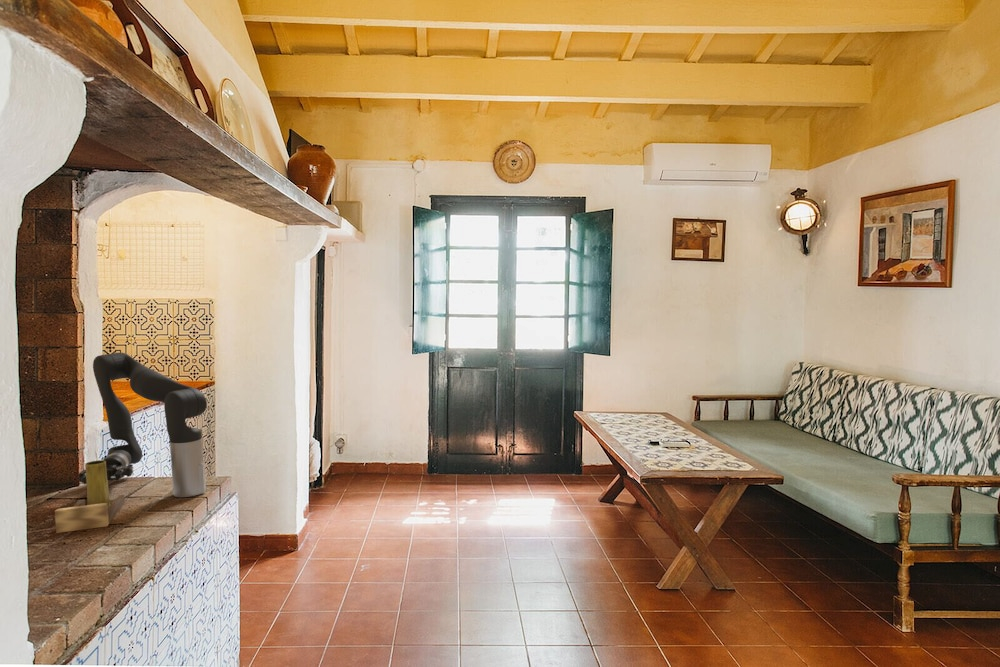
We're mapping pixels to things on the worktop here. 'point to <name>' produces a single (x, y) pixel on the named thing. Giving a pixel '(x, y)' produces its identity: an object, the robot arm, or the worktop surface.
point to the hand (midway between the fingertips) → (100, 479)
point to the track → (86, 515)
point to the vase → (97, 483)
